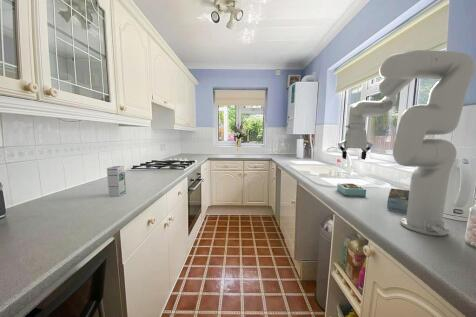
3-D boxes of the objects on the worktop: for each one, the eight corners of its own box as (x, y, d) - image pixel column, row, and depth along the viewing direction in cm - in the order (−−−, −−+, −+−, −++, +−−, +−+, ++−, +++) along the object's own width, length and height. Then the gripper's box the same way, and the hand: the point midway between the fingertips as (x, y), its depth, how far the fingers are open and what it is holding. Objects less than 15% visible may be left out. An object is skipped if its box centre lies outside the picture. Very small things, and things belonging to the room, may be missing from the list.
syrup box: (119, 196, 105) (118, 167, 103) (108, 196, 105) (106, 167, 103) (126, 193, 111) (124, 166, 109) (115, 192, 111) (113, 165, 109)
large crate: (365, 196, 111) (366, 189, 110) (344, 195, 112) (345, 188, 111) (356, 190, 122) (356, 184, 122) (337, 190, 123) (337, 183, 123)
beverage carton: (385, 209, 93) (387, 195, 92) (389, 199, 108) (390, 187, 107) (409, 214, 88) (410, 199, 87) (409, 203, 103) (410, 189, 102)
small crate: (359, 194, 113) (359, 186, 113) (347, 193, 114) (348, 186, 113) (353, 190, 120) (354, 183, 119) (342, 190, 121) (343, 183, 120)
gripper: (341, 126, 110) (339, 159, 112) (377, 127, 108) (374, 160, 110) (336, 127, 117) (334, 157, 119) (369, 127, 115) (367, 158, 117)
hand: (353, 158), depth 114 cm, fingers open, 9 cm apart
